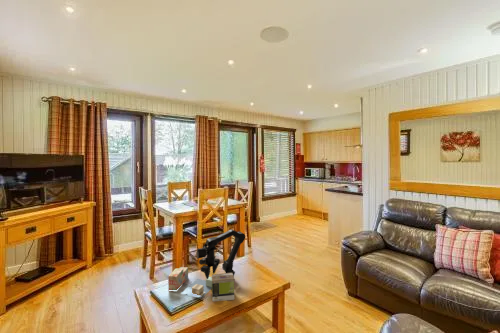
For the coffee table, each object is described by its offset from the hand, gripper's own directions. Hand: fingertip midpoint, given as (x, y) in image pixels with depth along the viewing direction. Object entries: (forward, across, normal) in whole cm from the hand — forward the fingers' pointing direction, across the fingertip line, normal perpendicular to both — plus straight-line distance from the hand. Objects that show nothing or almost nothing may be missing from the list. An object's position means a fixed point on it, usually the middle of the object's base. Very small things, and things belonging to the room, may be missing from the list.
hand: (210, 276), depth 186 cm
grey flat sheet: (+7, +7, -6) cm, 12 cm away
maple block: (+7, +14, -2) cm, 16 cm away
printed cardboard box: (+8, +9, -23) cm, 25 cm away
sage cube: (+7, 0, 0) cm, 7 cm away
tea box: (+8, +10, +16) cm, 20 cm away
